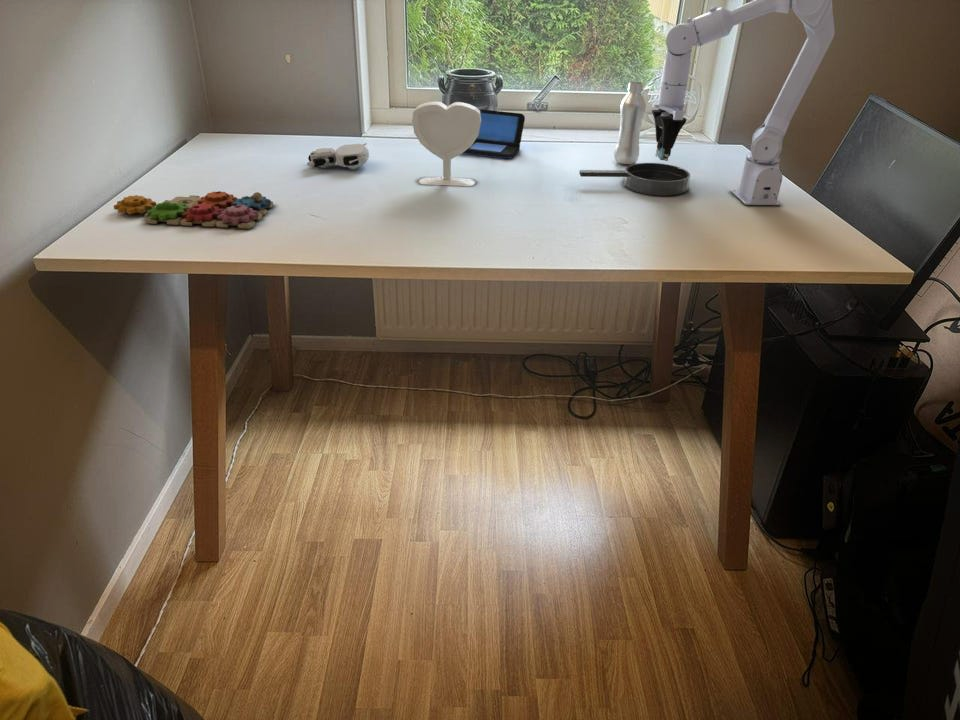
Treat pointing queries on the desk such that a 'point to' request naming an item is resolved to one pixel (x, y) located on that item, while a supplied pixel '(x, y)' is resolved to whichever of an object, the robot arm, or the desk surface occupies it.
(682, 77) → the robot arm
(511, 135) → the game console
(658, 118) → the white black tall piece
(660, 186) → the pan
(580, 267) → the desk surface
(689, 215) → the desk surface
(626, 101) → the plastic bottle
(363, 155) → the robot toy
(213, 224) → the gear puzzle
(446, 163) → the heart sculpture
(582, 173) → the pan handle
